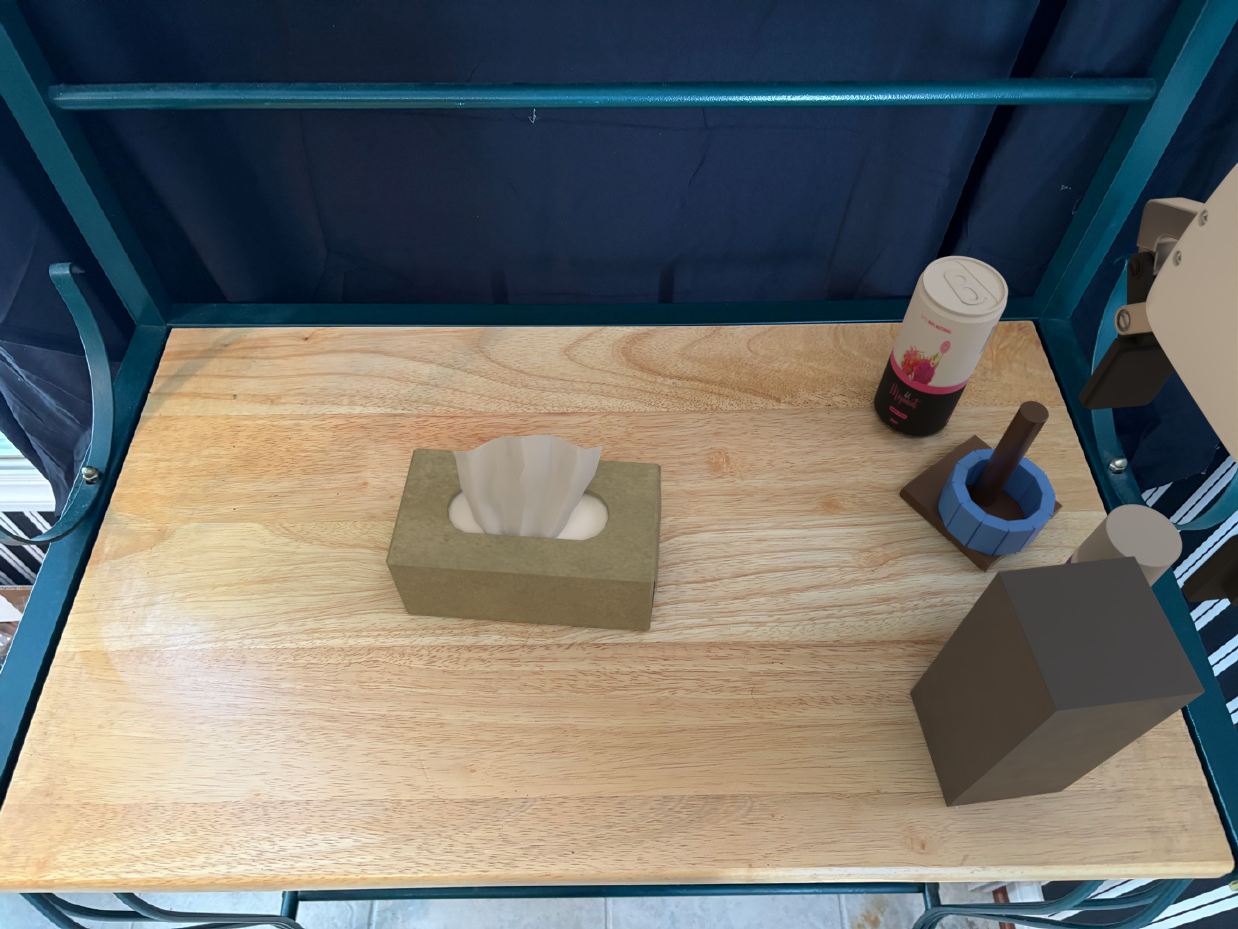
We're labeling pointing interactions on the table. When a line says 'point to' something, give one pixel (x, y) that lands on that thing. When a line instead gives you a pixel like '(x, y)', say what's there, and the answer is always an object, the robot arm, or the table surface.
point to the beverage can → (939, 344)
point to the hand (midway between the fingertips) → (1162, 490)
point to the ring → (989, 530)
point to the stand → (981, 478)
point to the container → (1133, 540)
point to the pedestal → (1050, 680)
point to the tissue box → (528, 535)
